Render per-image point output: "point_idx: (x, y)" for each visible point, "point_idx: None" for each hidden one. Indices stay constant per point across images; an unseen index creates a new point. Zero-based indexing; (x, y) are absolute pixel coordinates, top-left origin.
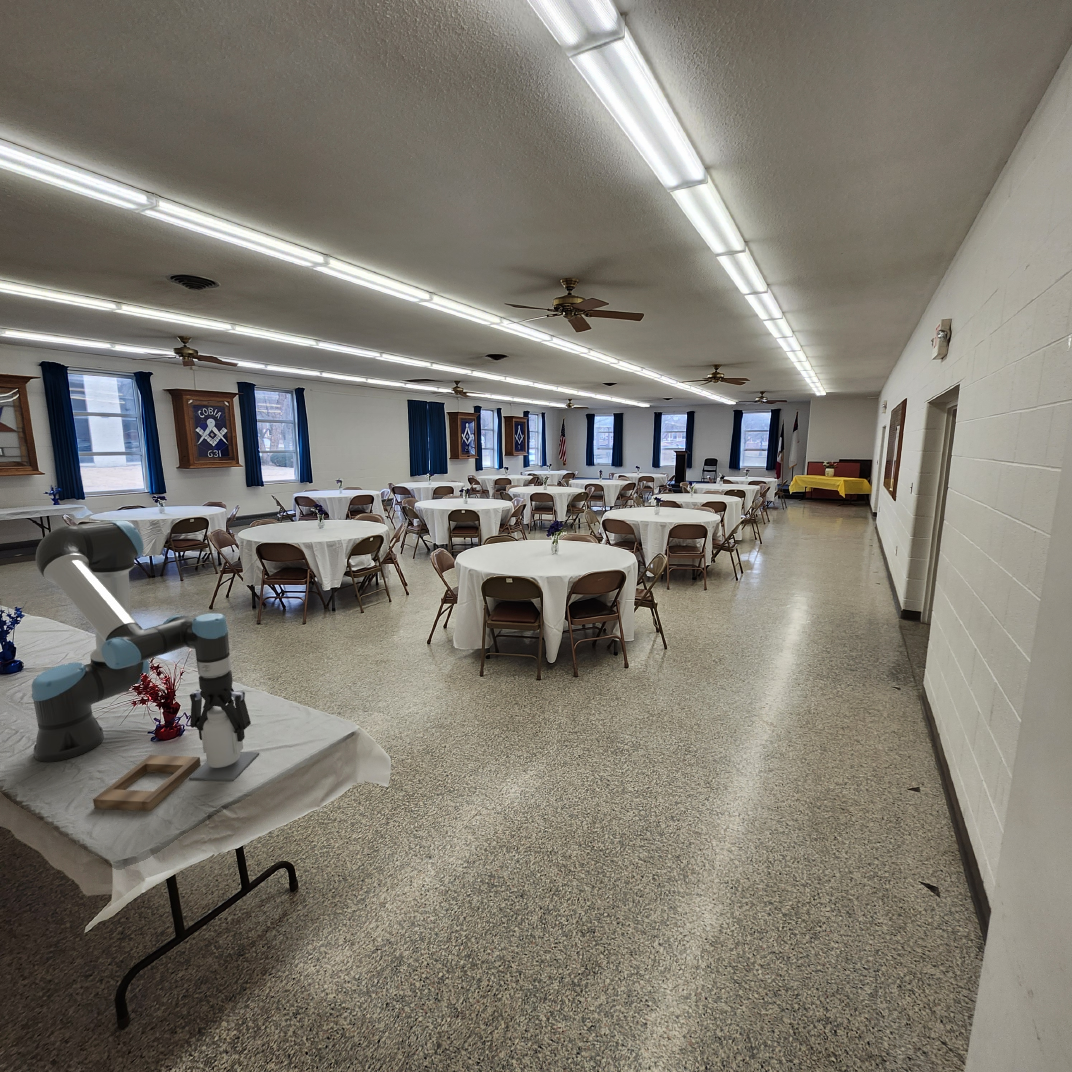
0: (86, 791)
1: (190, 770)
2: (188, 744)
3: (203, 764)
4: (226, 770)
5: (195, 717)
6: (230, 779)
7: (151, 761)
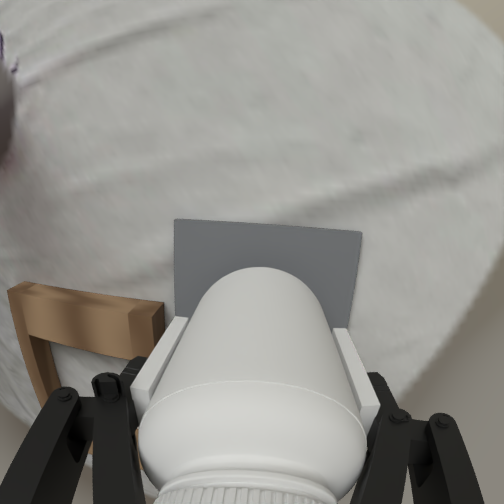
0: (7, 372)
1: None
2: (47, 172)
3: (176, 311)
4: None
5: (75, 481)
6: None
7: (32, 326)
